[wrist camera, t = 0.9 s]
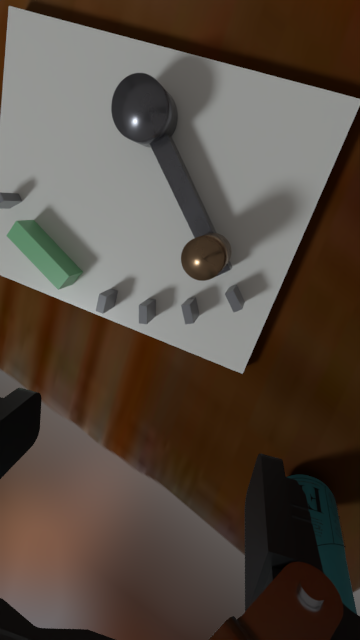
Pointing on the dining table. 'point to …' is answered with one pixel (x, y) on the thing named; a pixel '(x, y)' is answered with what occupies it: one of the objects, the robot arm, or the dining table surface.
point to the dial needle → (170, 168)
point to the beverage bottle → (328, 535)
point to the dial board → (156, 182)
